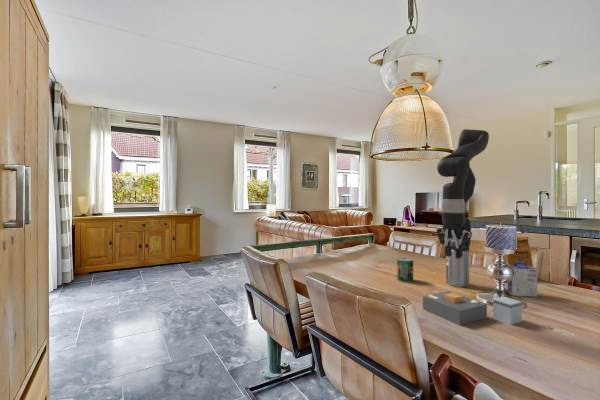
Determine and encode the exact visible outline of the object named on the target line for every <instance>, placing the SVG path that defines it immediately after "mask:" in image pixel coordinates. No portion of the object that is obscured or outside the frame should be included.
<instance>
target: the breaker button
mask: <svg viewBox="0 0 600 400" xmlns="http://www.w3.org/2000/svg"><path fill="white" fill-rule="evenodd" d="M444 300H447V301H450V302H452V303H459V302H463V295H460V294H458V293H455V292H452V293H449V294H444Z"/></svg>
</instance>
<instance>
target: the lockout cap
mask: <svg viewBox="0 0 600 400" xmlns="http://www.w3.org/2000/svg"><path fill="white" fill-rule="evenodd" d="M492 304H493V305H492V312H493V313H492V315H493V316H492V317H493V319H494V320H497V321H499V322H503V323H505V324H508V325H510V326H512V325H514V324H518V323H521V322H523V321H522V318H523V317H522V314H523V313H522V308H523V307H522V306H523V303H522V301H520V300H516V299H514V298H510V297H506V296H501V297H497V298H496V297H495V298H493V299H492Z"/></svg>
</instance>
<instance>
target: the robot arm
mask: <svg viewBox="0 0 600 400" xmlns="http://www.w3.org/2000/svg"><path fill="white" fill-rule="evenodd" d="M489 137H490V135H489V132H488V131H486V130H483V129H466V128H465V129H462V130H461V132H460V134H459V138H458V145H457V148H456V149H455V150H454V151H453V152H452V153H450V154H448V155H446V156H444V157H442V158H440V160H439V161H438V163H437V168H436V169H437V173H438V174H439V175H440V176H441V177H444V178H450V177H451V178H453V179H452V182H447V183H445V184H444V185H442V202H441V203H442V206H441V208H442V210H441V217H442V218H441V223H442V224H443V225H442V228H436V233H437V234H436V235H437V237H438V240H439V243H440V244H441V245H443V246H444V247H445V248H444V255H445V256H446V257H447V263H446V265H445V267H446V269H445V270H446V271H445V274H446V275H445V279H446V280H445V281H446V283H448V284H449V285H450V286H453V287H459V288H466V287H469V286H470V247H471V238H472V236H473V233H472V224H471V220H470V219H469V218H468V217H466V203H468V201H470V199H471V198H472V196H473V195H474V192H475V187H476V177H475V174H474V172H473V170H472V168H471V165H470V164H471V163H470V162H471V161H472V160H473V158H474V157H476V156H478V155H479V154H481V153H482V152H484V151H485V150H486V148H487V147H488V144H489Z"/></svg>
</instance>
